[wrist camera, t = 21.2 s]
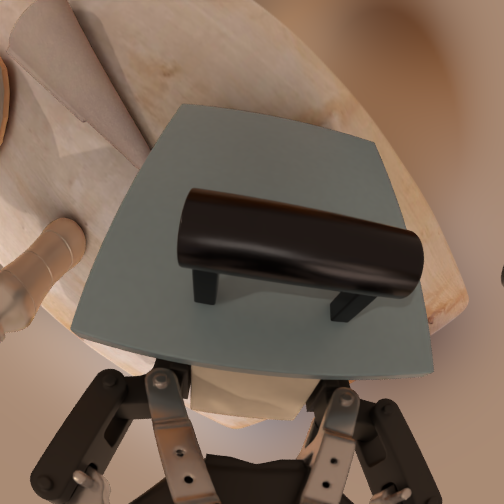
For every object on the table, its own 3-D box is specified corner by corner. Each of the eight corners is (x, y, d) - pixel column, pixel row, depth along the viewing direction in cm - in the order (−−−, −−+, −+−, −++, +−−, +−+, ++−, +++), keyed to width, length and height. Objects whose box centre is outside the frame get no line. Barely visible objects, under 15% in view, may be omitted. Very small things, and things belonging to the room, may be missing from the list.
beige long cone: (206, 132, 23) (42, -14, 10) (141, 195, 25) (-4, 53, 13) (211, 120, 29) (75, -3, 17) (159, 170, 32) (33, 51, 19)
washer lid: (422, 377, 9) (519, 330, 5) (78, 337, 8) (-2, 257, 4) (370, 151, 17) (398, 91, 13) (181, 113, 17) (184, 44, 12)
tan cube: (313, 281, 14) (332, 362, 9) (288, 347, 16) (293, 421, 12) (211, 265, 13) (191, 346, 9) (204, 336, 16) (190, 410, 12)
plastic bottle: (81, 207, 31) (-24, 306, 13) (98, 253, 34) (17, 365, 17) (49, 217, 31) (-46, 305, 14) (66, 258, 35) (-12, 356, 17)
